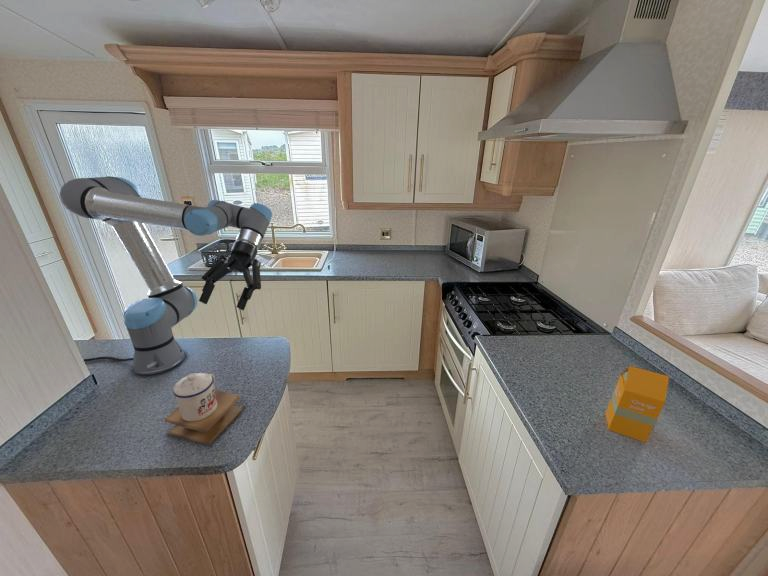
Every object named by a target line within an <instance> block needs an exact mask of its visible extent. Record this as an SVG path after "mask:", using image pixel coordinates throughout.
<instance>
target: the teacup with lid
mask: <svg viewBox="0 0 768 576" xmlns="http://www.w3.org/2000/svg"><path fill="white" fill-rule="evenodd" d="M215 383H216V378H215V375H214V374H212V373H206V372H196V373H188V375H185V377H182V378H180V379H179V380H178V381H177V382H176V383H175V385H174V386H173V388H172V393H173V395H174V396H175V399H176V403H177V406H178V407H179V410H180V413H181V416H182V418H183V419H184V420H186V421H198V420H202V419H204V418H206V417H208V416H209V415H211V414H212V413H213V412H214V411H215V409H216V408H217V400H216V395H215V391H214V390H215Z"/></svg>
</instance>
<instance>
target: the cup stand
mask: <svg viewBox="0 0 768 576" xmlns="http://www.w3.org/2000/svg"><path fill="white" fill-rule="evenodd" d="M214 391H215V395H216V400H217V408H216V409H215V411H214V412H213V413H212V414H211V415H209V416H208V417H206V418H204V419H202V420H198V421H186V420H184V419H183V418H182V416H181V413H180V410H179V406H178V407H176V408H175V409H174V410H173V411H172V412H170V413H169V414H168V415H167V416H166V417H164V422H165V423H168V424H171V425H173V427H171V428H170V430H168V434H169V435H171V436H175V437H179V438H181V439H186V440H189V441H193V442H197V443H200V444H205V445H207V446H210V445H211V444H212V443H214V441H215V440H216V439H217V438H218V437H219V436H220V435H221V434H222V432H223V431H224V430H225V429H226V428H227V427H228V426H229V425H230V423H231V422H233V421H234V420H235V418H236V417H237V416H238V415H239V414H240V413H241V412H242V411H243V407H242V406H239V405H235V404H236V403H237V402H238V401H239V400H240V399H241V396H240V394H237V393H232V392H228V391H223V390H218V389H214Z"/></svg>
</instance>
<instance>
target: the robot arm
mask: <svg viewBox="0 0 768 576" xmlns="http://www.w3.org/2000/svg"><path fill="white" fill-rule="evenodd" d="M59 201H60V203H61V205H62V206H63V207H64V208H65V209H66V210H67V211H68V212H70V213H71V214H73V215H75V216H78V217H79V218H80V217H82V218H85V219H91V220H96V221H97V220H98V221H102V222H103V223H104V224H106V225H109V226H111V227H112V229H113V230H114V232H115V234H116V236H117V237H118V239H119V241H120V242H121V244H122V245H123V247H124V249H125V251H126V253H127V254H128V255H129V258H130V259H131V260H132V263H133V264H134V265H135V267H136V269H137V271H138V273H139V274H140V276H141V278H142V279H143V281H144V282H145V284H146V286H147V288H148V291H147V294H146V295H147V298H143V299H141V300H137V301H133V303H130V304H129V305H128V306H127V307H126V308H125V309H124V311H123V315H122V316H123V319H124V326H125V327H126V330H127V332H128V335H129V338H130V341H131V344H132V347H133V350H134V351H133V352H134V353H133V357H129V358H117V357H113V356H97V357H91V358H83V359H84V361H83V362H90V361H97V360H114V361H118V362H128V361H132V368H133V371H134V373H135V374H136V375H140V376H154V375H159V374H162V373H166V372H168V371H170V370H173V369H174V368H176V367H178V366H179V365H180V364H181V363H183V361H184V360H185V358H186V355H185V351H184V349H183V348H182V347H181V346H180V344H179V343H178V342H177V340H176V339H175V337H174V333H173V327H175V326H176V325H177V324H179V323H180V322H182V321H183V320H184V319H186V318H188V317H189V316H190V315H191V314H192V313H193V312H195V310H196V309H197V306H198V302H200V303H201V304H204V305H207V304H208V303H209V300H210V299H211V296H212V293H213V292H214V289H215V287H216V285H215V283H217V282H219V281H220V280H221V279H222V278H224V277H225V276H227V275H228V274H231V273H240V274H242V275H243V278H244V281H245V284H246V286H244V287H243V290H242V292H241V295H240V297H239V300H238V302H237V304H236V308H237V309H239V310H241V311H245V310H246V309H245V308H246V306H247V303H248V301H249V300H251V298H252V296H253V293H254V291H255V290H261V289H262V280H261V266H262V262H260V261H259V260H258V259H257V255H258V252H259V251H258V250H259V249H260V247H261V245H262V242H263V241H264V238H265V235H266V233H267V230H268V228H269V226H270V225H271V224H270V223H271V221H272V217H273V212H272V210H271V208H269V207H268V206H267V205H266V204H263V203H261V202H254V203H252V204H251V205H250V207H248V206H241V205H238V204H234V203H230V202H227V201H225V200H219V199H211V200H210V201H209V202H208V203H207V205H206V206H200V205H199V206H198V205H192V204H186V203H180V202H173V201H167V200H162V199H161V200H160V199H155V198H149V197H143V194H142V192H141V190H140V189H139V187H138V186H137V185H135V183H134V182H132V181H131V180H130V179H129V180H128V179H127V178H124V177H120V176H109V175H106V176H98V177H97V176H95V177H79V178H73V179H69V180H68V181H66V182H65V183H64V184H62V186H61V187H60V189H59ZM146 225H153V226H159V227H166V228H171V229H178V230H179V229H180V230H184V231H185V230H186V231H188V232H190V233H192V234H193V235H195V236H197V237H203V236H208V235H212V234H214V233H215V232H218V231H220V230H223V229H226V228H228V227H231V228H236V229H239V232H238V234H237V236H236V238H235V241H234V242H233V245H232V247H231V249H230V255H229V257H228V256H225V255H224V254H221V255H219V258H218V260H217V261H216V262H215V263H214V264H213V265H212V266H211V267H209V269H208V270H207V271H206V272H205V273H204V274H203V275H202V276H201V280H203V281H205V283H204V285H203V287H202V289H201V292H202V293H201V294H200V297H199V299H198V297H197V294H196V292H195V291H194V290H193V288H189V286H187V285H184V283H183V282H182V281H181V280H177V279H175V277H174V275H173V274H172V271H171V270H170V268H169V267H168V265H167V263H166V260H164V257H163V256H162V254H161V252H160V250H159V248H158V247H157V244H156V243H155V241H154V239H153V237H152V236H151V234H150V232H149V230H148V229H147V227H146ZM250 267H251V269H252V270H250ZM251 271H252V275H251Z"/></svg>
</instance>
